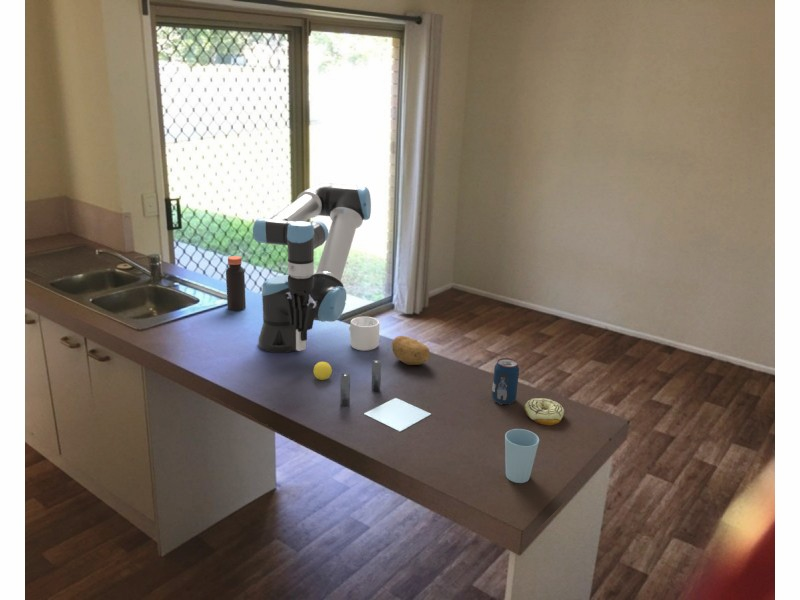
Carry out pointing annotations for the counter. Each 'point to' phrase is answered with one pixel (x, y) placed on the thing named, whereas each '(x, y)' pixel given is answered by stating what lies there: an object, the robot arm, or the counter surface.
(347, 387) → the post
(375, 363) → the post
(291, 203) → the robot arm
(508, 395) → the soda can
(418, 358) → the potato
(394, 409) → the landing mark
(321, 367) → the ball
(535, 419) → the decorated donut
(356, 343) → the mug
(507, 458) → the cup
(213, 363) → the counter surface
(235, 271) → the bottle
